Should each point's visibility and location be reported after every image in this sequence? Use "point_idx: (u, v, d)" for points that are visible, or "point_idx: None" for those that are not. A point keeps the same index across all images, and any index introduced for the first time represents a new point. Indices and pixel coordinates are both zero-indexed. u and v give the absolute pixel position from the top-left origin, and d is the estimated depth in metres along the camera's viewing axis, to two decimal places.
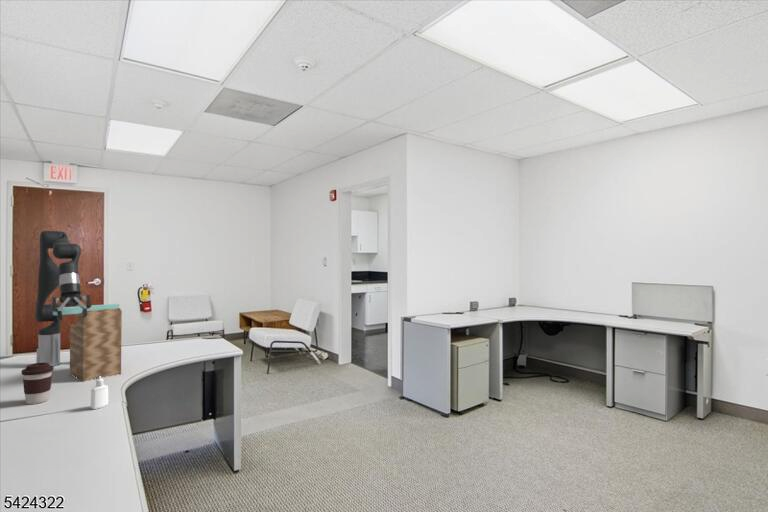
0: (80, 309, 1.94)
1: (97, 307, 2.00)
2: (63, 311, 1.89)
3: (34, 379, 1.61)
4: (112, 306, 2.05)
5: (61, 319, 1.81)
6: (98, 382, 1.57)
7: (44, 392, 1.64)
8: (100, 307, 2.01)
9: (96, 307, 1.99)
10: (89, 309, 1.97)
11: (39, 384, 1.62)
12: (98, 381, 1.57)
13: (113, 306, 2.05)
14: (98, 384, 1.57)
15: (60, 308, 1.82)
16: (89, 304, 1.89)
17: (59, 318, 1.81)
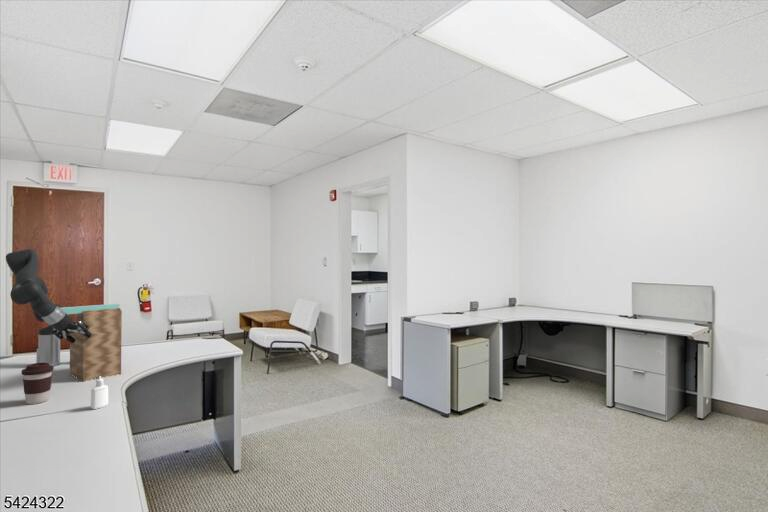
0: (80, 309, 1.94)
1: (97, 307, 2.00)
2: None
3: (34, 379, 1.61)
4: (112, 306, 2.05)
5: (73, 342, 1.94)
6: (98, 382, 1.57)
7: (44, 392, 1.64)
8: (100, 307, 2.01)
9: (96, 307, 1.99)
10: (89, 309, 1.97)
11: (39, 384, 1.62)
12: (98, 381, 1.57)
13: (113, 306, 2.05)
14: (98, 384, 1.57)
15: (65, 337, 1.90)
16: (85, 330, 1.89)
17: (71, 342, 1.94)
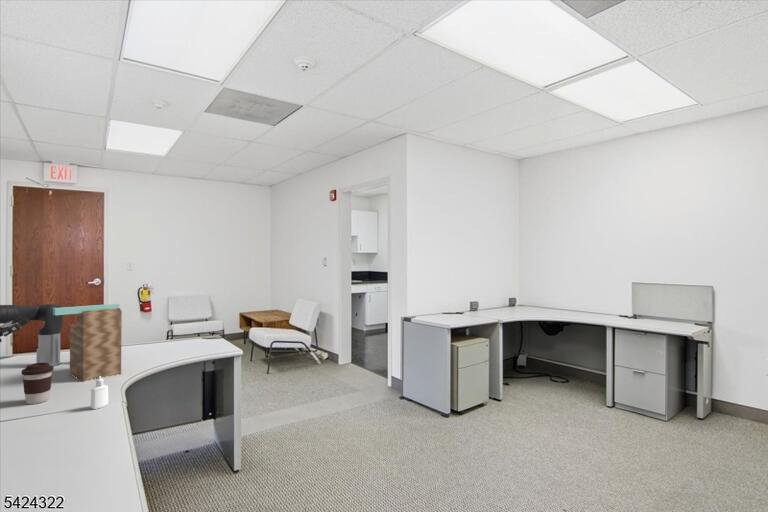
0: (80, 309, 1.94)
1: (97, 307, 2.00)
2: (63, 311, 1.89)
3: (34, 379, 1.61)
4: (112, 306, 2.05)
5: (25, 319, 1.86)
6: (98, 382, 1.57)
7: (44, 392, 1.64)
8: (100, 307, 2.01)
9: (96, 307, 1.99)
10: (89, 309, 1.97)
11: (39, 384, 1.62)
12: (98, 381, 1.57)
13: (113, 306, 2.05)
14: (98, 384, 1.57)
15: None
16: None
17: None
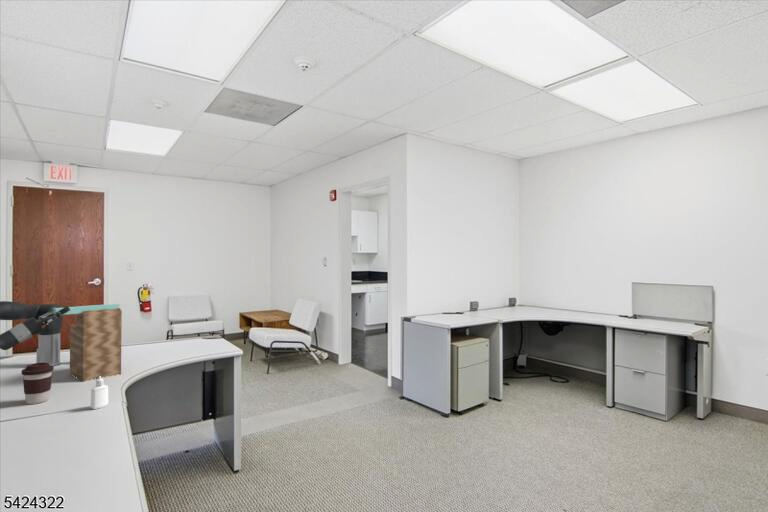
0: (80, 309, 1.94)
1: (97, 307, 2.00)
2: None
3: (34, 379, 1.61)
4: (112, 306, 2.05)
5: None
6: (98, 382, 1.57)
7: (44, 392, 1.64)
8: (100, 307, 2.01)
9: (96, 307, 1.99)
10: (89, 309, 1.97)
11: (39, 384, 1.62)
12: (98, 381, 1.57)
13: (113, 306, 2.05)
14: (98, 384, 1.57)
15: (55, 315, 1.90)
16: None
17: None
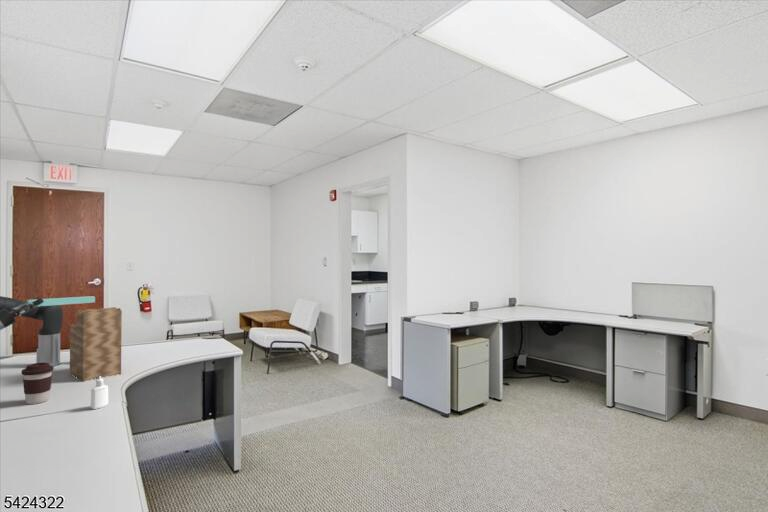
0: (54, 301, 1.94)
1: (72, 299, 2.00)
2: None
3: (34, 379, 1.61)
4: (87, 298, 2.05)
5: None
6: (98, 382, 1.57)
7: (44, 392, 1.64)
8: (75, 299, 2.01)
9: (71, 299, 2.00)
10: (63, 301, 1.97)
11: (39, 384, 1.62)
12: (98, 381, 1.57)
13: (88, 298, 2.05)
14: (98, 384, 1.57)
15: (29, 307, 1.91)
16: None
17: None
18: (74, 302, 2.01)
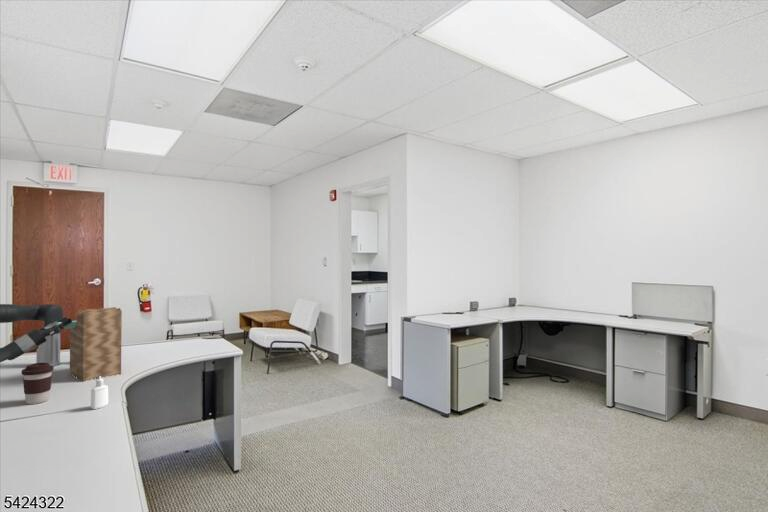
0: None
1: None
2: None
3: (34, 379, 1.61)
4: None
5: None
6: (98, 382, 1.57)
7: (44, 392, 1.64)
8: None
9: None
10: None
11: (39, 384, 1.62)
12: (98, 381, 1.57)
13: None
14: (98, 384, 1.57)
15: None
16: None
17: (66, 320, 2.03)
18: None
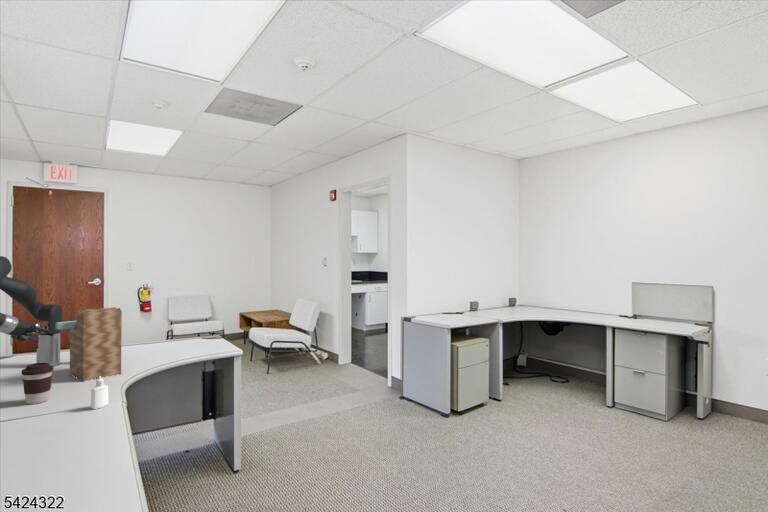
0: None
1: None
2: (65, 325, 1.98)
3: (34, 379, 1.61)
4: None
5: (37, 341, 1.93)
6: (98, 382, 1.57)
7: (44, 392, 1.64)
8: None
9: None
10: None
11: (39, 384, 1.62)
12: (98, 381, 1.57)
13: None
14: (98, 384, 1.57)
15: (26, 339, 1.88)
16: (44, 331, 1.87)
17: None
18: None
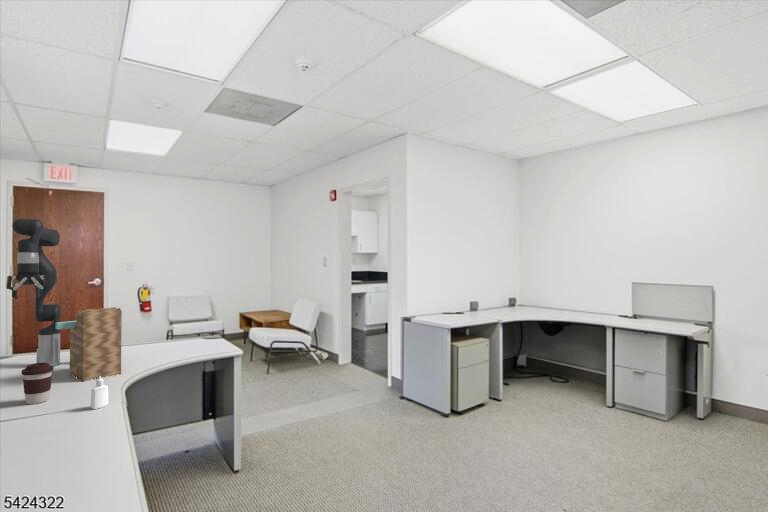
0: None
1: None
2: (65, 325, 1.98)
3: (34, 379, 1.61)
4: None
5: (15, 298, 1.82)
6: (98, 382, 1.57)
7: (44, 392, 1.64)
8: None
9: None
10: None
11: (39, 384, 1.62)
12: (98, 381, 1.57)
13: None
14: (98, 384, 1.57)
15: (15, 287, 1.81)
16: (46, 285, 1.90)
17: (13, 297, 1.81)
18: None
